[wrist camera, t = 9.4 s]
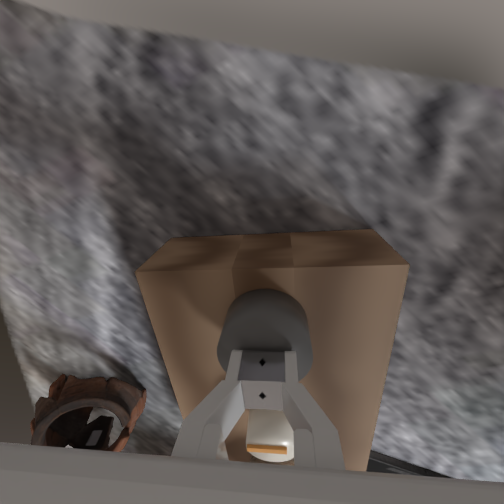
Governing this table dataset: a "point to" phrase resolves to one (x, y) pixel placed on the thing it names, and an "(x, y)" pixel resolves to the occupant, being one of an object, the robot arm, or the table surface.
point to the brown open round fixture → (86, 413)
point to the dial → (269, 435)
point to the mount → (311, 299)
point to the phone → (396, 466)
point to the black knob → (266, 327)
